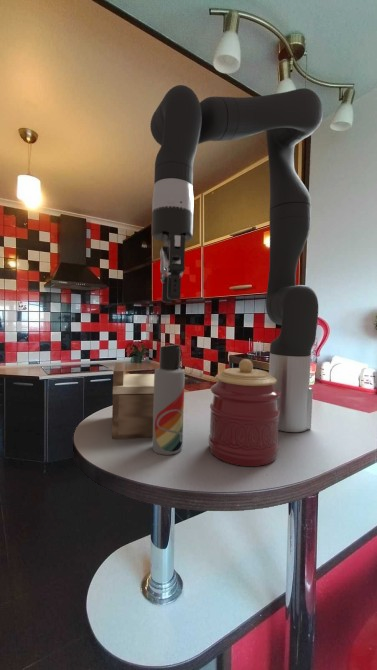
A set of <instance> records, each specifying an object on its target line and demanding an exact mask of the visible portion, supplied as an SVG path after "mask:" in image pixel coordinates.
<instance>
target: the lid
mask: <svg viewBox="0 0 377 670" xmlns="http://www.w3.org/2000/svg"><path fill="white" fill-rule="evenodd" d="M124 370H125V363H124V362H115V364H114V367H113V373H112V374H113V379H112V395H113V394H154V373H132V374H131V373H130V374H129V373H127V374H126V373H125V371H124Z"/></svg>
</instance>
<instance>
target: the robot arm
mask: <svg viewBox="0 0 377 670" xmlns="http://www.w3.org/2000/svg"><path fill="white" fill-rule="evenodd" d="M323 109H324V108H323V104H322V101H321V99H320V97H319V95H318V94H317V93H316V91H314V90H312V89H310V88H305V87H304V88H297V89H293V90H288V91H284V92H279V93H278V92H277V93H273V94H267V95H259V96H247V97H238V96H237V97H234V96H209V97H206V98H204V99H203V100H201V101H200V100H199V97H198V96H197V94H196V92H195V91H194V90H193V89H192V88H190V87H189V86H187V85H183V84H178V85H175V86H173V87H171V88H170V89H169V90H168V91H167V92H166V94H165V95H164V97H163V98H162V100H161V102H160V103H159V104H158V106H157V108H156V109H155V111H154V112H153V114H152V117H151V120H150V132H151V135H152V137H153V139H154V141H155V142H156V143H157V144H158V145H159V146H160V148H159V150H158V152H157V155H156V156H155V159H154V160H155V161H154V183H153V185H154V186H153V192H152V204H151V205H152V206H151V208H152V209H151V210H152V211H151V236H152V238H153V239H155V240H156V241H159V242H162V243H164V245H163V246H161V249H160V252H159V253H160V254H159V257H160V265H159V266H160V267H159V270H160V277H159V278H160V281H161V283H162V284H161V285H162V286H161V287H162V289H161V290H162V291H161V302H163V303H173V301H175V300H180V299H181V292H182V291H181V288H182V277H183V275H184V271H185V269H186V266H185V255H186V253H185V252H186V251H185V250H186V247H185V246H186V242H189V241H191V240H192V239H193V232H194V203H195V202H194V201H195V200H194V199H195V198H194V190H193V189H194V188H193V187H194V185H193V184H194V160H195V157H196V154H197V148H198V145H200V144H203V143H207V142H220V141H221V142H223V141H224V142H225V141H226V142H227V141H235V140H241V139H244V138H248V137H251V136H254V135H257V134H260V133H263V132H265V135H266V148H267V155H268V165H269V166H268V169H269V266H268V267H269V268H268V269H269V270H268V279H267V288H266V295H265V296H266V297H265V311H266V313H267V316H268V318H269V320H270V321H271V322H272V323H274V324H276V325H279V326H281V327H280V332H279V335H278V336H277V337H276V338H275V339H274V340H271V342H270V346H269V361H268V362H269V367H268V373H269V374H270V375H271V376H272V377H274V378H275V379H276V380H277V382H276V383H275V384H274V386H275V388H276V389H278V390H279V391H280V392H281V396H280V397H279V398H278V408H279V410H280V414H279V425H278V431H282V432H289V433H301V432H305V431H306V430H311V429H312V414H313V397H314V395H313V394H314V389H313V388H312V387H310V381H311V380H310V379H311V377H310V376H311V358H312V357H311V356H312V349H313V347H314V344H315V342H316V338H317V329H318V328H317V327H318V318H319V301H318V297H317V294H316V292H315V291H314V289H313V288H311V287H310V286H307V285H303V284H297V281H296V280H297V267H298V263H299V260H300V257H301V255H302V253H303V250H304V248H305V245H306V243H307V241H308V238H309V234H310V231H311V227H312V224H311V223H312V200H311V195H310V193H309V190H308V189H307V187H306V185H305V184H304V183H303V181H302V179H301V178H300V177H299V175H298V174H297V172H296V169H295V158H294V157H295V155H294V153H295V146H296V145H297V144H298V143H300V142H301V141H303V140H304V139H306V138H308V137H310V136H312V134H313V133H314V132H316V131H317V130H318V128H319V127H320V125H321V123H322V121H323V116H324V110H323Z"/></svg>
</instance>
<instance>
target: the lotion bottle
mask: <svg viewBox="0 0 377 670" xmlns="http://www.w3.org/2000/svg"><path fill="white" fill-rule="evenodd" d="M180 365H181V347H180V345H179V344H169V345H168V344H167V345H163V346H160V347H159V367H158V368H156V369H154V373H153V374H154V407H153V437H152V449H153V451H154V452H155V453H157V454H159V455H175V454H178V453H180V452H181V451H182V450H183V442H184V441H183V440H184V439H183V437H184V407H185V406H184V405H185V376H186V375H185V374H186V373H185V370H184V369H182V368H181V366H180Z"/></svg>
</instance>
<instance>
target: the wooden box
mask: <svg viewBox="0 0 377 670" xmlns="http://www.w3.org/2000/svg"><path fill="white" fill-rule="evenodd" d="M153 407H154V394H113V393H112V415H111V417H112V418H111V419H112V420H111V421H112V423H111V439H112V440H119V439H120V440H123V439H142V438H144V439H145V438H153Z"/></svg>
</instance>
